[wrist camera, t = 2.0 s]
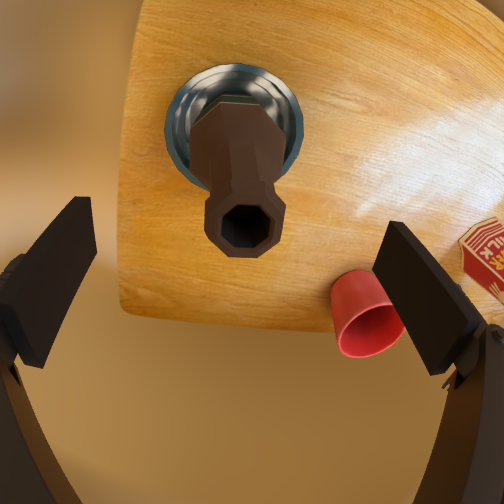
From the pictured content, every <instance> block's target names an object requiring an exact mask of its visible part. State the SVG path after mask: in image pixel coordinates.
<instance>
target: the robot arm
mask: <svg viewBox="0 0 504 504" xmlns="http://www.w3.org/2000/svg"><path fill="white" fill-rule="evenodd" d="M96 254H97V248H96V241H95V234H94V226H93V217H92V209H91V199H90V197H77V196H75V197H74V198H73V199H72V200H71V201H70V202H69V203H68V204H67V205H66V206H65V208H64V209H63V210H62V211H61V212H60V213H59V214H58V216H57V217H56V218H55V219H54V220H53V221H52V222H51V223H50V225H49V226H48V227H47V228H46V229H45V231H44V232H43V233H42V234H41V235H40V237H39V238H38V239H37V240H36V242H35V243H34V244H33V245H32V247H31V248H30V249H29V250H28V252H27V253H26V254H20V255H18V256H17V257H16V258H14V259H13V260H12V261H11V262H10V263H9V264H8V265H7V267H6V268H5V269H4V272H2V274H1V275H0V504H83V503H82V502H81V501H80V499H79V497H78V496H77V494H76V493H75V491H74V489H73V488H72V486H71V484H70V483H69V481H68V480H67V478H66V476H65V474H64V472H63V471H62V469H61V467H60V465H59V463H58V461H57V460H56V458H55V456H54V454H53V452H52V450H51V448H50V446H49V444H48V442H47V440H46V438H45V436H44V434H43V431H42V430H41V427H40V425H39V423H38V421H37V418H36V416H35V413H34V411H33V409H32V407H31V404H30V401H29V399H28V396H27V394H26V391H25V389H24V386H23V383H22V380H21V377H20V375H19V372H18V368H17V367H16V365H15V363H14V360H15V358H16V356H17V353H18V354H19V356H20V358H21V359H22V361H23V363H24V364H25V365H29V366H33V367H37V368H41V369H43V367H44V365H45V362H46V360H47V357H48V355H49V352H50V350H51V347H52V345H53V343H54V340H55V338H56V336H57V333H58V331H59V329H60V326H61V324H62V322H63V320H64V318H65V315H66V313H67V311H68V309H69V307H70V305H71V303H72V301H73V298H74V296H75V294H76V292H77V290H78V288H79V286H80V284H81V282H82V280H83V278H84V276H85V274H86V273H87V271H88V269H89V267H90V265H91V263H92V261H93V259H94V257H95V256H96ZM372 271H373V272H374V274H375V275H376V277H377V279H378V281H379V282H380V284H381V286H382V287H383V289H384V291H385V292H386V294H387V296H388V298H389V299H390V301H391V303H392V305H393V306H394V308H395V310H396V312H397V313H398V315H399V317H400V319H401V321H402V322H403V324H404V326H405V328H406V330H407V332H408V334H409V335H410V337H411V339H412V341H413V343H414V345H415V347H416V349H417V350H418V352H419V354H420V356H421V358H422V360H423V362H424V364H425V366H426V368H427V370H428V372H429V374H430V376H432V375H438V374H442V373H445V372H446V371H447V370H448V368H449V367H450V366H451V364H452V363H454V365H455V366H456V370H455V371H454V372H453V373H452V375H451V376H450V377H449V378H448V379H447V381H446V382H445V383H444V384H443V386H442V388H443V389H444V388H445V387H446V386H447V385H448V384H450V387H449V388H448V390H447V391H448V395H447V400H446V404H445V408H444V412H443V416H442V419H441V423H440V427H439V430H438V434H437V438H436V440H435V444H434V447H433V450H432V453H431V456H430V459H429V462H428V465H427V468H426V471H425V473H424V476H423V479H422V481H421V484H420V487H419V489H418V491H417V494H416V496H415V499H414V501H413V503H412V504H504V329H503V328H502V327H500V326H499V325H496V324H489V325H488V324H487V323H486V321H485V320H484V318H483V317H482V316H481V314H480V313H479V311H478V310H477V309H476V307H475V306H474V305H473V303H471V301H470V299H469V298H468V297H467V296H465V295H466V294H465V293H464V292H463V290H462V289H461V288H460V286H459V285H457V284H456V283H455V282H454V281H453V280H452V279H451V278H450V276H449V275H448V274H447V273H446V271H445V270H444V269H443V268H442V267H441V265H440V264H439V263H438V262H437V261H436V259H435V258H434V257H433V256H432V255H431V253H430V252H429V251H428V250H427V249H426V248H425V246H424V245H423V244H422V243H421V242H420V241H419V240H418V239H417V237H416V236H415V235H414V234H413V233H412V232H411V231H410V230H409V228H408V227H407V226H406V225H405V224H404V223H403V222H397V221H389V224H388V227H387V230H386V233H385V236H384V238H383V241H382V244H381V247H380V249H379V252H378V255H377V258H376V260H375V263H374V265H373V268H372Z"/></svg>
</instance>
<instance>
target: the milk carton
mask: <svg viewBox="0 0 504 504" xmlns="http://www.w3.org/2000/svg"><path fill="white" fill-rule="evenodd" d="M459 243H460V247H461V251H462V259H461V270H462V271H463V272H464V273H465V274H467V275H468V276H469V277H470V278H471V279H473V280H474V281H475V282H476V283H478V284H479V285H480V286H481V287H482V288H484V289H485V290H486V291H487V292H488V293H490V294H491V295H492V296H493V297H495V298H496V299H497V300H498V301H499V302H500V303H502V304H503V305H504V224H503V223H502V222H501V221H500V220H499V219H498V218H497V217H495V218H492V219H490V220H487V221H484V222H481V223H478V224H475V225H474V226H473V227H472V228H471V229H470V230H469V231H468V232H467V233H466V234H465V235H464V236H463V237H462V238H461V239H460V240H459Z"/></svg>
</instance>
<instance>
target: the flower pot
mask: <svg viewBox="0 0 504 504" xmlns="http://www.w3.org/2000/svg"><path fill="white" fill-rule="evenodd" d="M330 298H331V307H332V315H333V321H334V327H335V334H336V339H337V345H338V348H339V350H340V351H341V353H343V354H344V355H346V356H348V357H351V358H364V357H369V356H373V355H376V354H378V353H380V352H382V351H384V350H386V349H387V348H389V347H390V346H391V345H393V344H394V343H395V342H396V341H397V340H398V339H399V338H400V337H401V335H402V334H403V333H404V331H405V329H406V328H405V326H404V324H403V322H402V321H401V319H400V317H399V315H398V313H397V312H396V310H395V308H394V306H393V305H392V303H391V301H390V299H389V298H388V296H387V294H386V292H385V291H384V289H383V287H382V286H381V284H380V282H379V281H378V280H377V279H376V278H375V277H374V276H373V275H372V274H371V273H369V272H367V271H364V270H355V271H351V272H348V273H346V274H344V275H343V276H341V277H340V278H339V279H338V280H337V281H336V283H335V284H334V285H333V287H332V289H331V293H330Z"/></svg>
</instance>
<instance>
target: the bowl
mask: <svg viewBox="0 0 504 504" xmlns="http://www.w3.org/2000/svg"><path fill="white" fill-rule="evenodd" d="M222 92H223V93H240V94H251V95H252V96H253V97H254V98H255V99H256V101H257V102H258V103H259V104H260V105H261V106H262V107H263V109H264V110H265V111H266V112H267V113H268V114H269V116H270V117H271V118H272V119H273V120H274V122H275V123H276V124H277V125H278V127H279V128H280V129H281V130H282V132H283V133H284V135H285V137H286V146H285V153H284V161H283V168H282V176H283V175H284V174H286V172H287V171H288V170H289V168H290V167H291V165H292V164H293V162H294V161H295V159H296V158H297V156H298V154H299V151H300V147H301V144H302V141H303V136H304V126H303V114H302V112H301V109H300V106H299V104H298V101H297V99H296V97H295V95H294V94H293V93H292V91H291V90H290V89H289V88H288V87H287V85H286V84H285V83H284V82H283V81H282V80H281V79H280V78H278V77H276V76H275V75H273V74H271V73H270V72H268V71H266V70H265V69H263V68H260V67H256V66H251V65H246V64H242V63H234V64H224V65H216V66H214V67H211V68H209V69H207V70H205V71H202V72H200V73H198V74H196V75H194V76H193V77H192V78H191V79H190V80H189V81H188V82H187V83H185V84H184V85H183V86H182V87H181V88H180V89H179V91H177V93H176V95H175V97H174V99H173V101H172V102H171V104H170V106H169V108H168V110H167V116H166V122H165V128H164V130H165V131H164V133H165V139H166V145H167V150H168V153H169V154H170V156H171V158H172V160H173V162H174V164H175V165H176V167H177V168H178V170H179V171H180V172H181V173H182V174H183V175H184V176H185V177H186V178H187V179H188V180H189V181H191V182H192V183H193V184H195V185H197V186H199V187H201V188H203V189H205V190H207V191H209V190H208V189H207V188H206V187H205V186H204V185H203V184H202V183H201V182H200V181H199V180H198V179H197V178H196V177H195V176H194V175H193V174H192V173H191V172H190V171H189V159H190V132H191V127H192V125H193V124H194V122H195V120H196V118H197V116H198V115H199V113H200V111H201V110H203V109H204V108H205V107H206V106H207V105H208V104H209V103H211V102H212V101H213V100H214V99H215V98H216V97H218V96H219V95H220V94H221V93H222ZM282 176H281V177H282ZM209 192H210V191H209Z"/></svg>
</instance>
